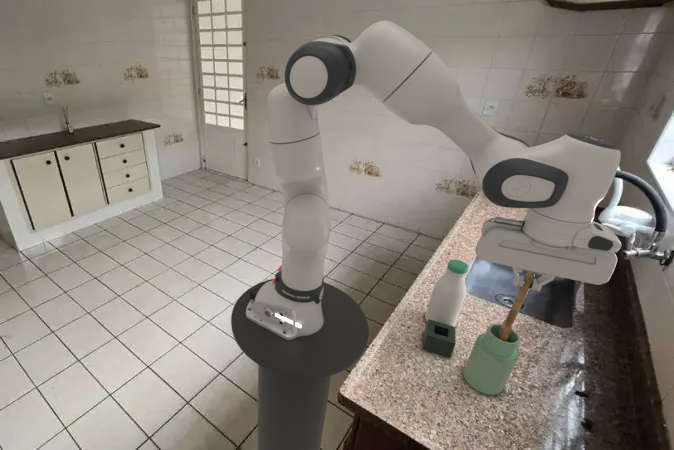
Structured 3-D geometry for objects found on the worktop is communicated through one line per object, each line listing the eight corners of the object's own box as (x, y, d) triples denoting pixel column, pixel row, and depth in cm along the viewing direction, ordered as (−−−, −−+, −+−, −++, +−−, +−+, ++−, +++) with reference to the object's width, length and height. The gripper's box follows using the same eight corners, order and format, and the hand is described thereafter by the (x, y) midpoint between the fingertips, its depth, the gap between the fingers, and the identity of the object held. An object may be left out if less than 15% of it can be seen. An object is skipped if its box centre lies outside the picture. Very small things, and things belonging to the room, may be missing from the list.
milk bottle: (453, 335, 95) (475, 276, 85) (422, 325, 98) (440, 266, 89) (455, 318, 101) (476, 261, 91) (426, 309, 104) (443, 252, 95)
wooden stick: (499, 339, 75) (528, 275, 67) (498, 331, 77) (526, 268, 69) (506, 341, 75) (537, 277, 67) (505, 333, 77) (534, 270, 69)
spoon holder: (422, 349, 91) (427, 335, 89) (423, 332, 96) (428, 319, 94) (450, 357, 88) (455, 343, 86) (450, 340, 93) (455, 326, 91)
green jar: (463, 386, 81) (484, 339, 74) (462, 361, 87) (481, 316, 80) (504, 400, 78) (529, 353, 71) (500, 373, 84) (523, 327, 77)
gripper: (488, 221, 65) (466, 281, 71) (635, 247, 57) (595, 312, 63) (485, 208, 70) (465, 265, 76) (620, 230, 62) (584, 292, 68)
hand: (525, 287), depth 70 cm, fingers closed on wooden stick, 1 cm apart
